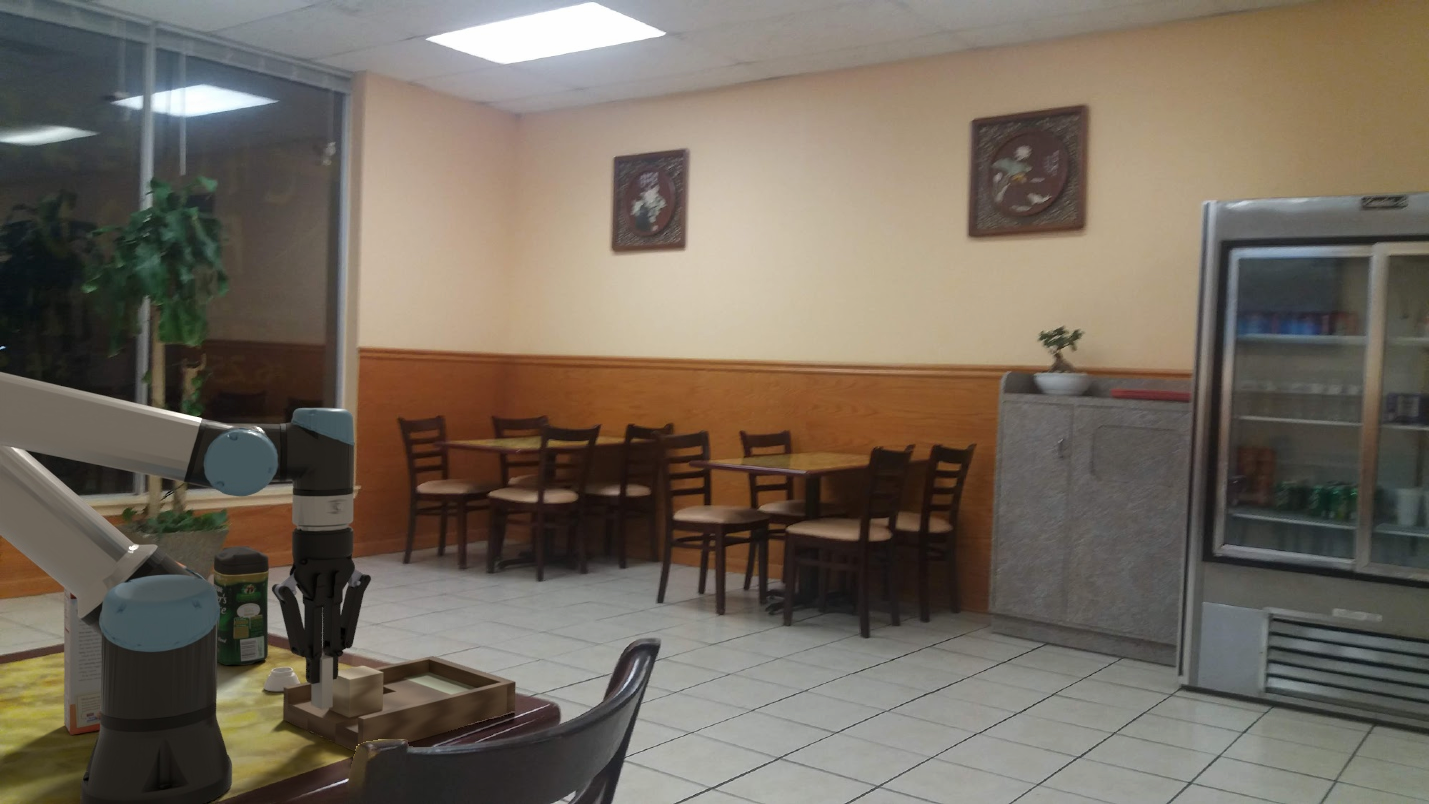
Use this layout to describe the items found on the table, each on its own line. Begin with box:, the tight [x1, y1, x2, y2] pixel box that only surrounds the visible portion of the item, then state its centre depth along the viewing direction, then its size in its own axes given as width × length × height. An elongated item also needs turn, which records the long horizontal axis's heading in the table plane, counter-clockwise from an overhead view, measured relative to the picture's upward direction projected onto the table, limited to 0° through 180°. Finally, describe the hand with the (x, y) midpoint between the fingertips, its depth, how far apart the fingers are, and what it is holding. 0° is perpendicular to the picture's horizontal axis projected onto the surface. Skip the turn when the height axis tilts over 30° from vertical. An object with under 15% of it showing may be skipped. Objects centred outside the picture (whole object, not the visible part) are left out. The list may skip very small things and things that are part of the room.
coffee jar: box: [213, 545, 270, 666], centre depth 178 cm, size 10×8×19 cm
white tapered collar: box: [263, 666, 301, 693], centre depth 162 cm, size 5×3×5 cm
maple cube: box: [329, 665, 383, 717], centre depth 145 cm, size 5×5×5 cm
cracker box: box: [63, 560, 188, 736], centre depth 145 cm, size 14×6×21 cm, turn 129°
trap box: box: [282, 655, 517, 752], centre depth 150 cm, size 24×20×4 cm
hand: (321, 705), depth 141 cm, fingers closed
